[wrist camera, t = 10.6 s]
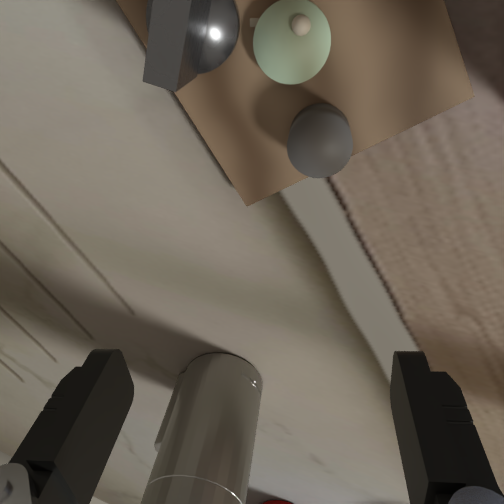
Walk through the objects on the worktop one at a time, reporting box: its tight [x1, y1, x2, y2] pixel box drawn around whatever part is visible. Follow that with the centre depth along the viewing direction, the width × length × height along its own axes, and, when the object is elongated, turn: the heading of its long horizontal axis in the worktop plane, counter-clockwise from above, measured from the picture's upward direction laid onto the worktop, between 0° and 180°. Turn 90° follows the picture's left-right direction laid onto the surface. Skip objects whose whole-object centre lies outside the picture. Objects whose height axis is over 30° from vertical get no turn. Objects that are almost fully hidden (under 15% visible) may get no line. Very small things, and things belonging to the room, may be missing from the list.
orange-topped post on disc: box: [143, 0, 240, 92], centre depth 25 cm, size 6×6×6 cm
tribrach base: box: [116, 0, 475, 206], centre depth 27 cm, size 18×18×5 cm
